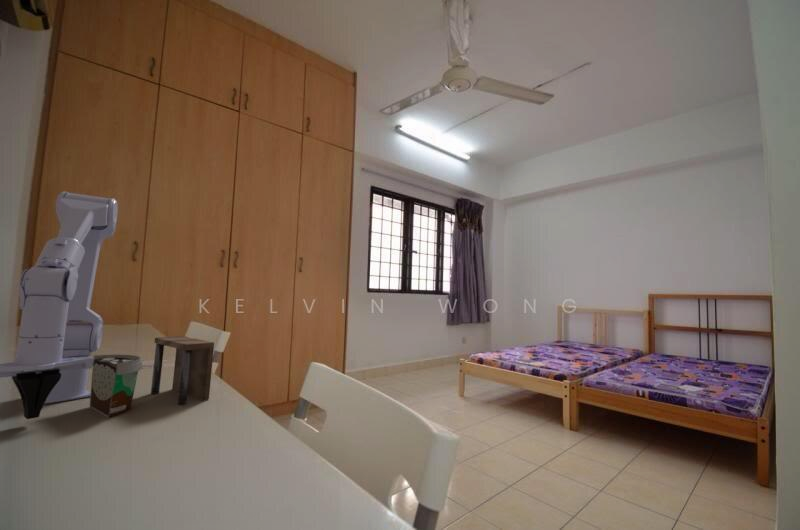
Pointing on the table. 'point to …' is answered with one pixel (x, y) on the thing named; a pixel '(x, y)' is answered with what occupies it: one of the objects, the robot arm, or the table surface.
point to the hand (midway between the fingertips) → (31, 416)
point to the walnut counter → (186, 366)
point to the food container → (113, 383)
